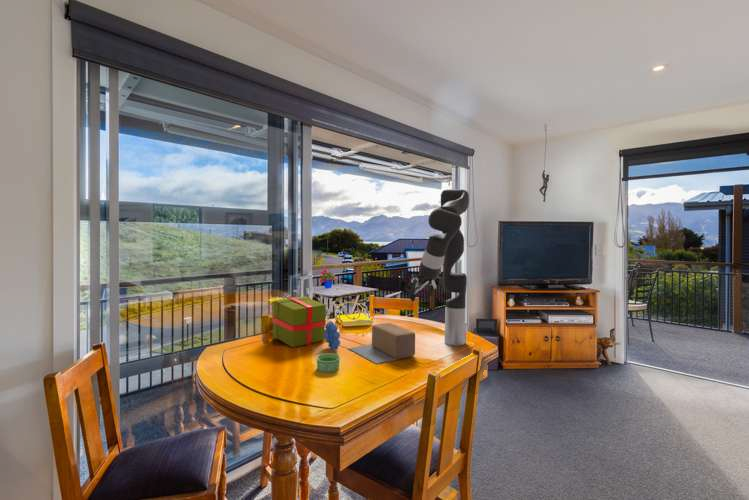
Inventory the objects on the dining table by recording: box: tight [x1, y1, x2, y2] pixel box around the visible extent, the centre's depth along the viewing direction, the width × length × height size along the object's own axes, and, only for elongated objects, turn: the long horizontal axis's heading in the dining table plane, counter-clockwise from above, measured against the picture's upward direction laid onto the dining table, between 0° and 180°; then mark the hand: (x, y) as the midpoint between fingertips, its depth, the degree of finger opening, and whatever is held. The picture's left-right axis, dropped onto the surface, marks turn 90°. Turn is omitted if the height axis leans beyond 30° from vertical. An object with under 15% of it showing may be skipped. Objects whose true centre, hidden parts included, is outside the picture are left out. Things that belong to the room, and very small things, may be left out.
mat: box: [348, 343, 412, 365], centre depth 159 cm, size 18×22×1 cm
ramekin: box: [315, 353, 341, 373], centre depth 139 cm, size 9×9×4 cm
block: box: [371, 322, 416, 360], centre depth 159 cm, size 10×10×20 cm
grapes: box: [324, 321, 341, 351], centre depth 162 cm, size 12×7×12 cm, turn 36°
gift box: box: [272, 295, 327, 348], centre depth 176 cm, size 21×21×25 cm
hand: (420, 297), depth 139 cm, fingers open, 8 cm apart
